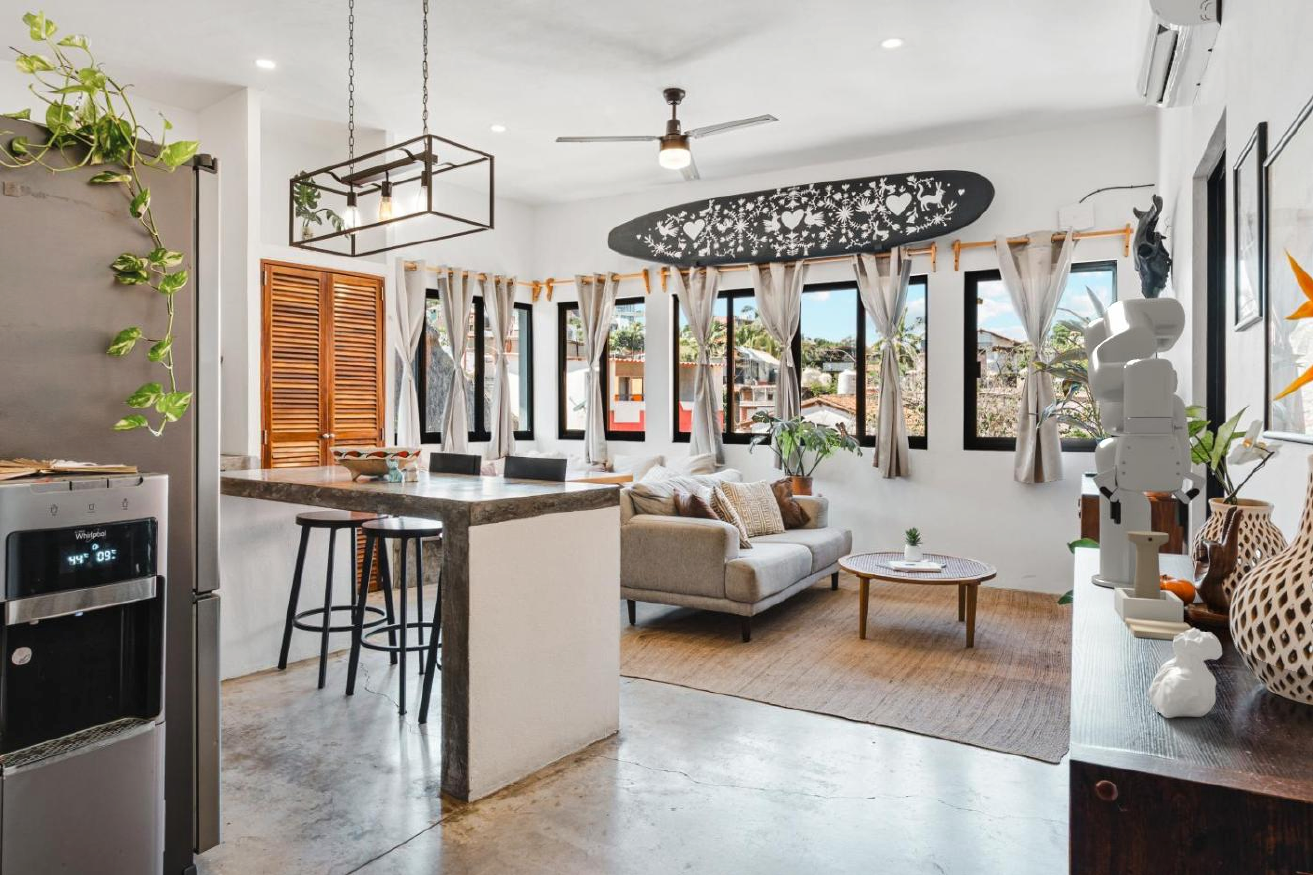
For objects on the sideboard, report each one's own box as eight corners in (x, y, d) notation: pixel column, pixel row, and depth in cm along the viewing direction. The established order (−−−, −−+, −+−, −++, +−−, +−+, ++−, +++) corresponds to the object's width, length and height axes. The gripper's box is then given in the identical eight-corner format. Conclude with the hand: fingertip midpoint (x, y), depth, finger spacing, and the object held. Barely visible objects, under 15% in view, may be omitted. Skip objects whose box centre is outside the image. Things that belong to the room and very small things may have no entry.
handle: (1171, 621, 142) (1171, 535, 141) (1129, 618, 144) (1129, 534, 144) (1165, 615, 146) (1165, 532, 146) (1124, 612, 148) (1124, 530, 148)
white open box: (1114, 608, 151) (1114, 587, 151) (1170, 612, 148) (1170, 590, 148) (1123, 621, 142) (1123, 598, 142) (1183, 625, 139) (1183, 602, 139)
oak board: (1125, 623, 140) (1125, 618, 140) (1186, 628, 137) (1186, 622, 137) (1134, 636, 132) (1134, 630, 132) (1199, 641, 128) (1199, 635, 128)
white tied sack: (1184, 747, 93) (1259, 680, 89) (1123, 697, 96) (1194, 630, 92) (1185, 715, 103) (1253, 653, 99) (1130, 671, 106) (1194, 609, 102)
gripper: (1199, 428, 145) (1200, 524, 144) (1090, 429, 151) (1090, 521, 151) (1211, 427, 138) (1211, 528, 137) (1095, 428, 144) (1096, 524, 144)
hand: (1148, 524), depth 144 cm, fingers open, 9 cm apart
